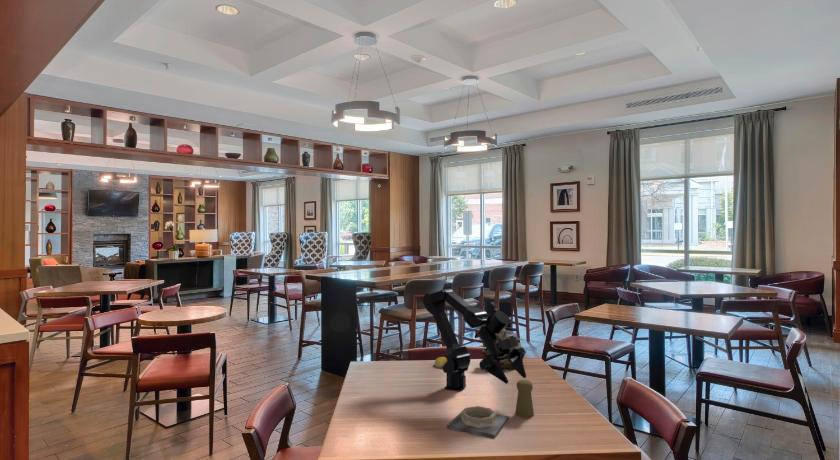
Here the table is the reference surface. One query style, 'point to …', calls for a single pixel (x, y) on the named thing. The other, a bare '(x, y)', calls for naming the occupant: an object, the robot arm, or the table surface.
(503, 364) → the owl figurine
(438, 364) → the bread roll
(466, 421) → the socket
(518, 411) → the cork
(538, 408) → the table surface
